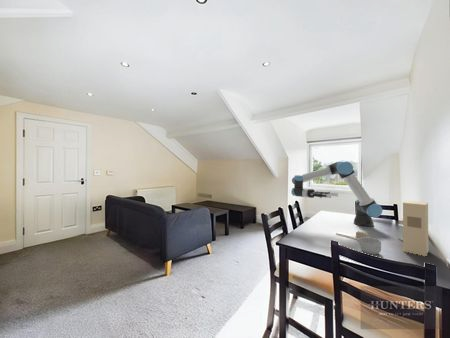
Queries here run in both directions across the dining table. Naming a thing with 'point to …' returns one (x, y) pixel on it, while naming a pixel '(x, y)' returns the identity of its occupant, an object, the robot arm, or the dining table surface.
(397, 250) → the dining table surface
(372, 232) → the dining table surface
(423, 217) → the carton
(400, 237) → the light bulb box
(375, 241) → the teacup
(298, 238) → the dining table surface
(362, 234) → the flap strip
